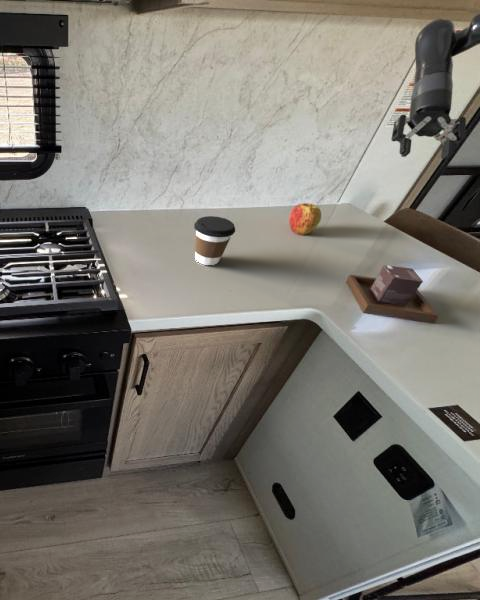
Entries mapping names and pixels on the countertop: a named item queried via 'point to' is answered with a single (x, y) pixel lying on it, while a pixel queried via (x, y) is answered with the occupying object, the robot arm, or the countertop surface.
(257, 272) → the countertop surface
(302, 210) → the apple
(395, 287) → the box
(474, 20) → the robot arm
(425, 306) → the brown wooden tray
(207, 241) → the coffee cup
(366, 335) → the countertop surface
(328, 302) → the countertop surface
